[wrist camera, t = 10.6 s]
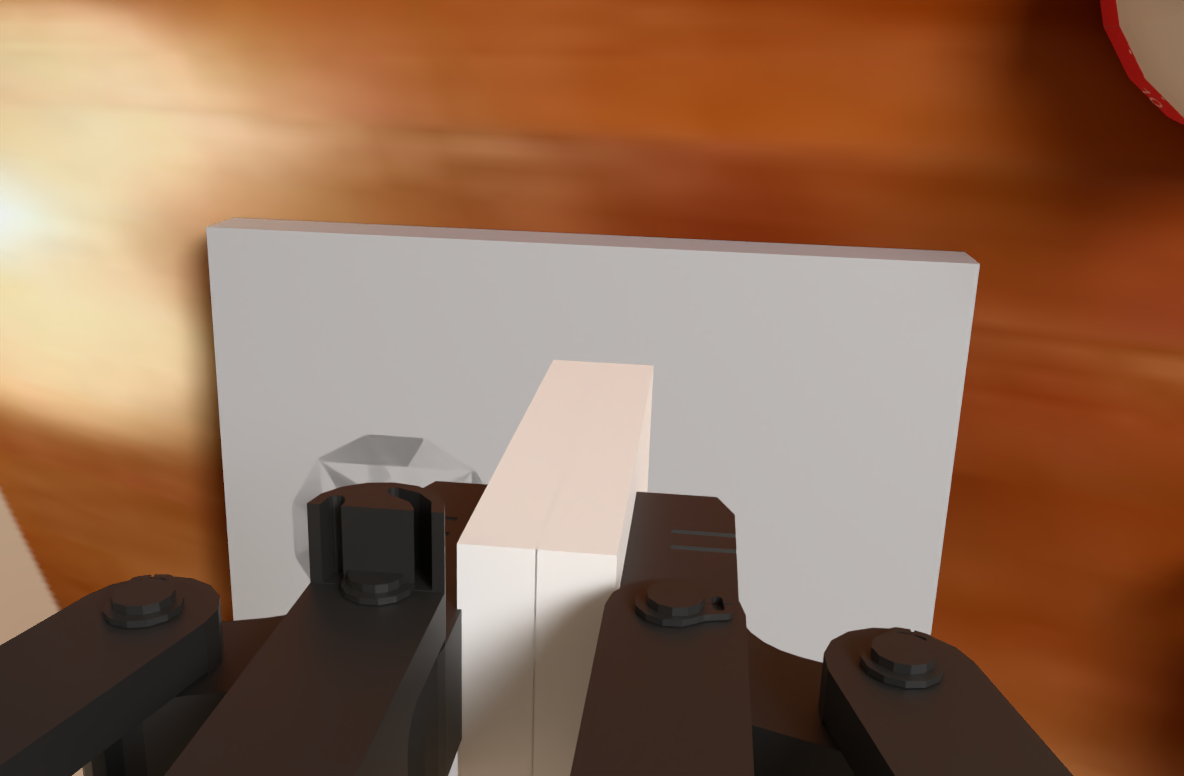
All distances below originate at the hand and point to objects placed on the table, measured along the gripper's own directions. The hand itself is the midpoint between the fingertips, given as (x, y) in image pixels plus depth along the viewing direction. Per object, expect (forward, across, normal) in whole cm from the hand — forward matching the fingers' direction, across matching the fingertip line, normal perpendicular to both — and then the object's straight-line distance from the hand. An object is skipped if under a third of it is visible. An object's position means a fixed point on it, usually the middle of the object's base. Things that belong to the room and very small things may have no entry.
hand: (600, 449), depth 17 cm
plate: (+26, -3, -13) cm, 30 cm away
